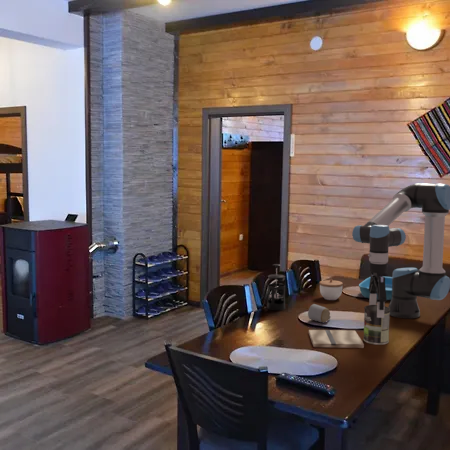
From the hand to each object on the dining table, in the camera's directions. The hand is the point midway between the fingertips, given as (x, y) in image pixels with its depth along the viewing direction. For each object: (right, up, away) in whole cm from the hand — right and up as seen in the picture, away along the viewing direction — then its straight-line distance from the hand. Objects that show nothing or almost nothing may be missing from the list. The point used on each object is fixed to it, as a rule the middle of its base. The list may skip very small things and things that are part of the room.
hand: (376, 313), depth 217 cm
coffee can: (0, -12, +1) cm, 12 cm away
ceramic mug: (-18, -9, +31) cm, 37 cm away
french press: (-36, -7, +54) cm, 65 cm away
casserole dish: (+28, -4, +84) cm, 88 cm away
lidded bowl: (-4, -5, +73) cm, 74 cm away
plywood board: (-17, -12, +2) cm, 21 cm away
